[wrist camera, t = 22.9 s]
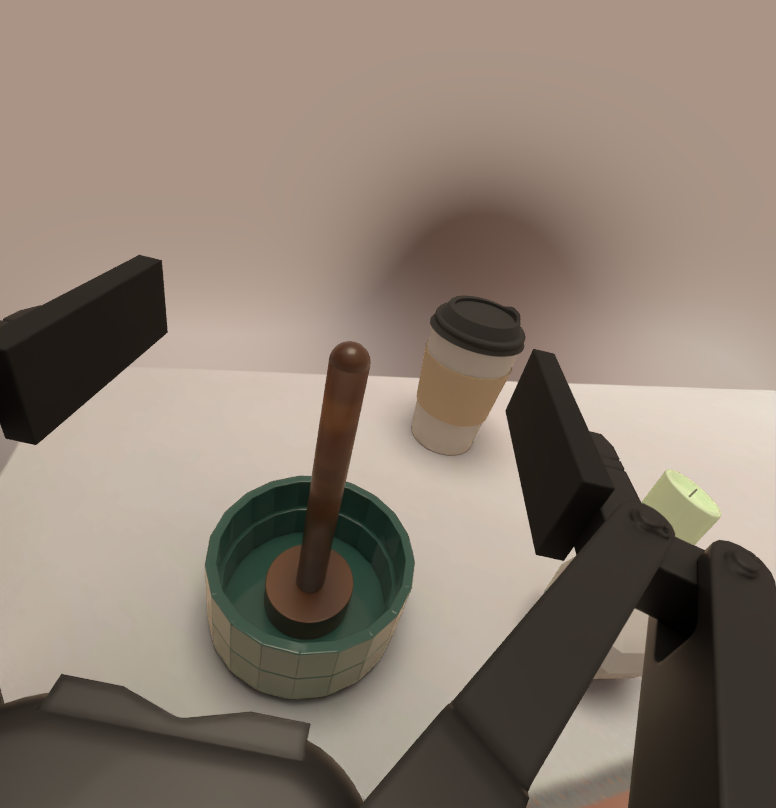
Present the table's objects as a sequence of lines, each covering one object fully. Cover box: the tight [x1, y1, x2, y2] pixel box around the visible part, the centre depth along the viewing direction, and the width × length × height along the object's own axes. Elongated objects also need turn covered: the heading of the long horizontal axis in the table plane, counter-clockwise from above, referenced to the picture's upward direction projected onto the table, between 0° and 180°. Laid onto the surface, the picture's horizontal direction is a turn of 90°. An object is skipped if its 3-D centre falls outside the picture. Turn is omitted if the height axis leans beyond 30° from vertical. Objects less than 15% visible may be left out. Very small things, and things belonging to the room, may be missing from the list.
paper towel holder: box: [264, 341, 370, 639], centre depth 24 cm, size 6×6×19 cm
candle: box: [641, 469, 721, 545], centre depth 39 cm, size 5×5×8 cm
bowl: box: [205, 476, 415, 699], centre depth 29 cm, size 12×12×6 cm
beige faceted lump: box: [544, 557, 649, 679], centre depth 30 cm, size 8×8×7 cm
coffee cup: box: [412, 296, 525, 455], centre depth 45 cm, size 9×9×15 cm
